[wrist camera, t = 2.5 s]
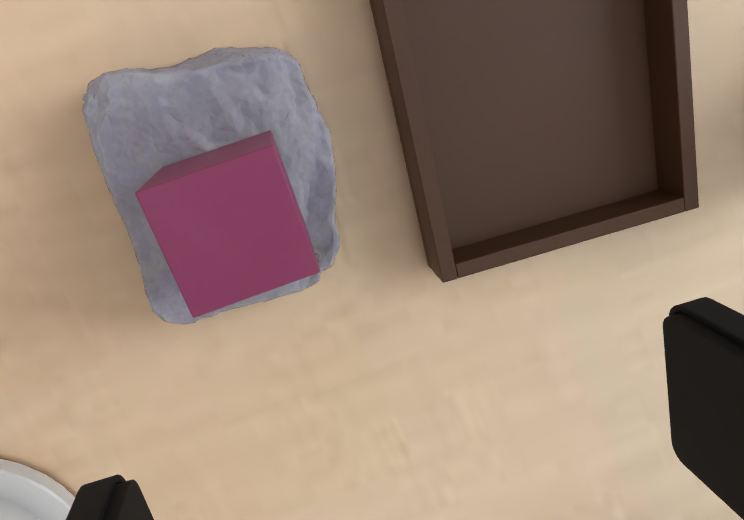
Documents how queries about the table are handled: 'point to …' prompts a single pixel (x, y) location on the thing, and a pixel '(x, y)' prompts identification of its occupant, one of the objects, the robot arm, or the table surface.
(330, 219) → the stone block
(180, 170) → the pink block
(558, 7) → the tray
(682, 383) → the robot arm
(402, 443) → the table surface
